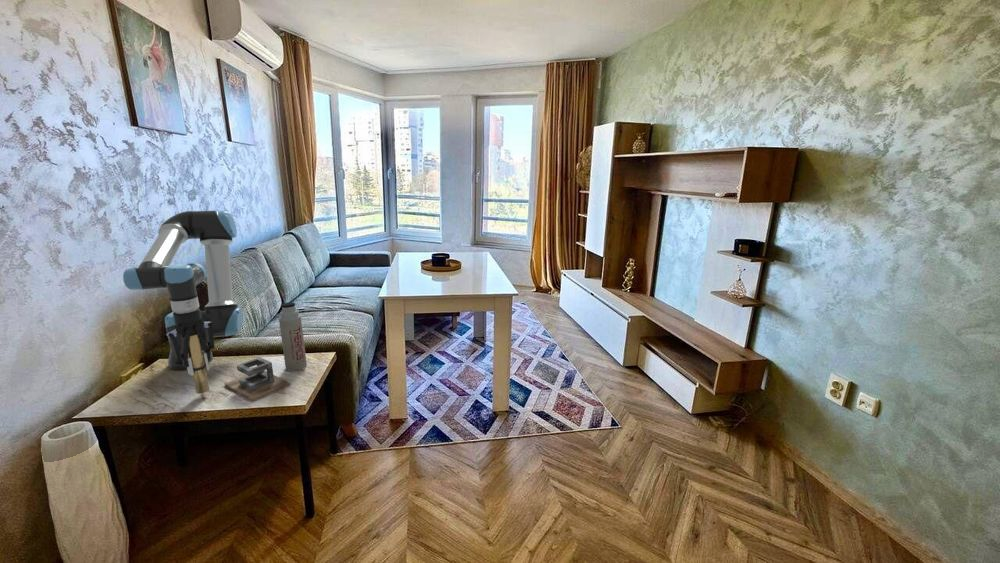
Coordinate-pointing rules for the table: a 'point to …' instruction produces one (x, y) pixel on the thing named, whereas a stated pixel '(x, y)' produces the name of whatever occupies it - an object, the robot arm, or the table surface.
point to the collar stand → (256, 380)
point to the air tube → (198, 364)
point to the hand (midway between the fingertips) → (198, 371)
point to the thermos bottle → (292, 337)
